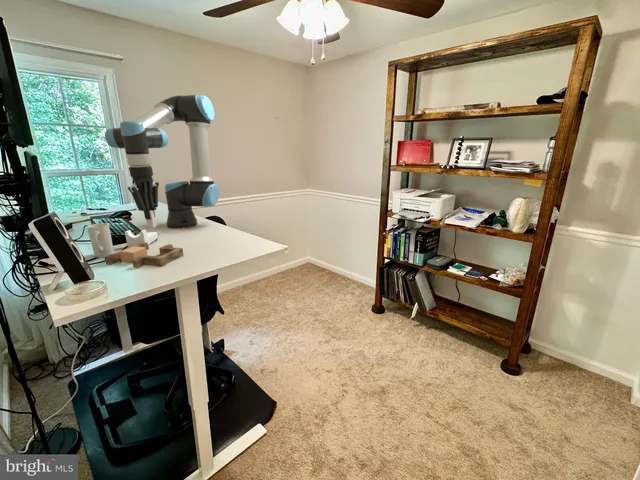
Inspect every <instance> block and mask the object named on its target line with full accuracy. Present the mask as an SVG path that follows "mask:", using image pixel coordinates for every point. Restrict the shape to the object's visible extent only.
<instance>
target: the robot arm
mask: <svg viewBox="0 0 640 480" xmlns="http://www.w3.org/2000/svg"><path fill="white" fill-rule="evenodd" d="M215 116H216V115H215V108H214V105H213V103H212V101H211V100H210V99H209V97H207V96H206V95H203V94H201V95H200V94H190V95H188V94H187V95H173V96H171V97H168V98H165V99H164V100H162V101H159V102H158V103H156V104H155V105H154V107H153V108H152V109H150V110H149V111H147V112H145V113H143V114H142V115H139V116H138V117H136V118H135V119H132V120H131V121H130V120H127V121H126V120H125V121H121V122H120V124H119V127H112V128H108V129H106V130H105V132H104V139H105V141H106V144H107V145H108V146H110V147H111V148H113V149H120V150H121V149H124V150H125V156H126V162H127V165H128V166H129V167H128V171H129V176H130V177H131V178H132V185H131V186H128V187H127V189H128V191H129V192H130V194H131V195H132V197H133V201H134V202H135V205H136V207H137V209H138V211H140V212H143V214H144V220H146V225H147V227H148V228H156V227H157V222H156V214H155V213H156V212H155V211H156V210H157V208H158V207H159V185H160V183H159V182H157V181H154V179H153V176H154V172H153V167H152V166H151V165H152V161H151V156H150V155H151V154H150V150H149V149H161V148H164V147H166V146H167V145H168V143H169V136H168V134H167V132H166V131H165V130H164V129H162V128H161V127H162V126H164V125H169V124H172V123H174V122H184V123H185V125H186V126H187V127H188V132H189V133H188V135H189V146H190V158H191V159H190V160H191V170H192V171H191V172H192V174H191V175H192V178H191V179H190V180H189V181H188V180H183V181H175V182H170V183H165V185H164V193H165V198H166V203H167V212H168V214H167V219H166V227H167V228H168V229H186V228H187V229H188V228H190V227H196V226H197V225H198V219H197V218H196V215H195V213H194V210H193V207H198V208H199V207H200V208H201V207H203V208H208V207H209V208H210V207H214V206H215V205H216V204H217V203H218V201H219V197H220V190H219V189H220V188H219V186H218V185H217V184H215V182H214V181H215V180H214V179H213V178H212V177H211V167H210V165H211V164H210V151H209V150H210V149H209V147H210V146H209V132H208V129H209V128H210V127H211V122H213V121H214V120H215Z"/></svg>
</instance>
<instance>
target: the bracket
mask: <svg viewBox="0 0 640 480" xmlns="http://www.w3.org/2000/svg"><path fill="white" fill-rule="evenodd" d="M124 234H125V239H126V244H127V248H129V247H132V246H135V245H137V244H140V243H142V242H148V246H149V245H150V244H151V243H153V242H154V241H155V240H157V239H158V238H159V236H158V235H159V234H158V232H156V231H155V232H154V231H153V232H150V231H149V232H148V231H147V230H146V229H142V230H141V231H140V233H138V234H136V235H135V234H133V233H132V232H131V229H128V230H126V231H124Z"/></svg>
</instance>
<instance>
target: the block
mask: <svg viewBox="0 0 640 480" xmlns="http://www.w3.org/2000/svg"><path fill="white" fill-rule="evenodd" d="M124 249H125V250H124ZM124 249H121V250H122V251H121V250H119V251H120V255H121V260H122V261H121V263H122V264H132V259H135V258H137V257H139V256H142V255H148V250H146V247H135V246H133V247H130V248H128V247H127V248H124ZM132 265H133V264H132Z"/></svg>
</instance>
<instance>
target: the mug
mask: <svg viewBox="0 0 640 480" xmlns="http://www.w3.org/2000/svg"><path fill="white" fill-rule="evenodd" d="M86 227H87V228H86V229H87V232H88V236H89V239H90V242H91V243H90V244H91V247H92V251H93V253H94V257H95V258H104V257H105V256H108V255H111V254H113V253H115V251H114V246H113V239H112V235H111V229H110V224H109V223H105V222H103V223H102V222H101V223H95V224H90V225H87V226H86Z"/></svg>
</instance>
